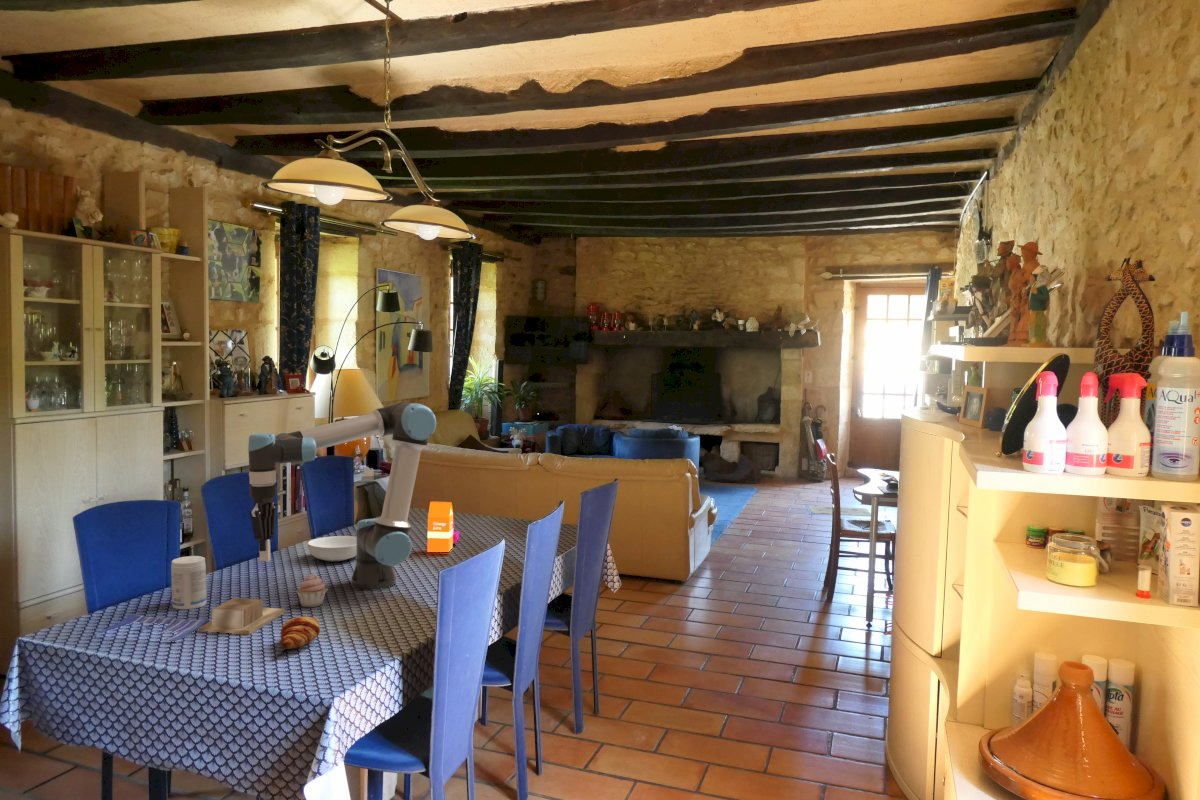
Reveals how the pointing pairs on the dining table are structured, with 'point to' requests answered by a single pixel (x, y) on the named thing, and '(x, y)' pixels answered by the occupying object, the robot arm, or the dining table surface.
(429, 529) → the orange juice
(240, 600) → the wooden block
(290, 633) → the croissant
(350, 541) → the serving bowl
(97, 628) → the dining table surface
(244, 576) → the dining table surface
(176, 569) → the supplement tub
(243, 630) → the board
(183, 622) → the dish towel
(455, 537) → the toy block
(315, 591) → the cupcake
